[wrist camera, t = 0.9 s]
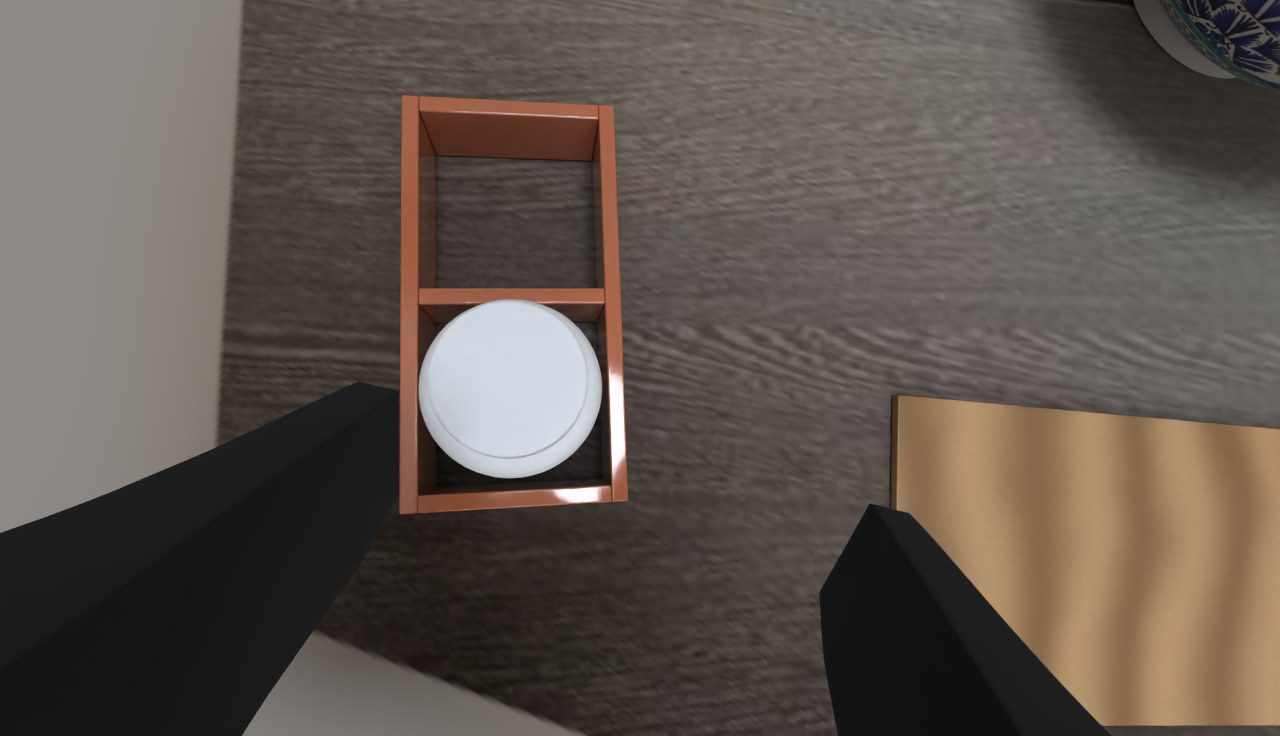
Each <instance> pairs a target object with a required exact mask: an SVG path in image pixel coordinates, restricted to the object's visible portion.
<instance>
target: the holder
mask: <svg viewBox="0 0 1280 736" xmlns="http://www.w3.org/2000/svg"><path fill="white" fill-rule="evenodd" d="M436 155H445V156H473V157H501V158H528V159H556V160H584V161H591V160H592V171H593V203H594V234H595V265H596V288H436ZM504 299H517V300H527V301H531V302H535V303H538V304H542V305H544V306H547V307H549V308H551V309H554V310H556V311H557V312H559V313H561V314H562V315H564V316H565V317H567V318H568V319H569V320H571V321H572V322H596V321H597V328H598V360H599V366H600V371H601V377H602V397H601V405H600V422H601V454H602V479H601V478H596V479H577V480H558V481H539V482H519V483H500V484H481V485H462V486H443V487H436V441H435V440H434V438H433V437H432V435H431V434H430V432H429V430H428V428H427V426H426V424H425V421H424V418H423V415H422V412H421V407H420V401H419V377H420V372H421V368H422V364H423V361H424V358H425V355H426V353H427V351H428V349H429V347H430V346H431V344H432V342H433V341H434V339H435V338H436V322H437V323H449V322H451V321H452V320H453V319H454V318H455V317H457V316H458V315H460V314H461V313H463V312H465V311H466V310H468V309H471V308H473V307H475V306H478V305H481V304H484V303H487V302H491V301H496V300H504ZM611 501H612V502H620V501H628V478H627V450H626V423H625V396H624V368H623V341H622V313H621V286H620V259H619V231H618V204H617V177H616V149H615V122H614V107H613V106H605V105H599V107H598V106H597V105H583V104H564V103H544V102H525V101H505V100H486V99H466V98H447V97H427V96H420V97H418V96H410V95H402V125H401V300H400V475H399V513H400V514H416V513H433V512H450V511H467V510H484V509H501V508H518V507H535V506H552V505H569V504H586V503H603V502H611Z"/></svg>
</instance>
